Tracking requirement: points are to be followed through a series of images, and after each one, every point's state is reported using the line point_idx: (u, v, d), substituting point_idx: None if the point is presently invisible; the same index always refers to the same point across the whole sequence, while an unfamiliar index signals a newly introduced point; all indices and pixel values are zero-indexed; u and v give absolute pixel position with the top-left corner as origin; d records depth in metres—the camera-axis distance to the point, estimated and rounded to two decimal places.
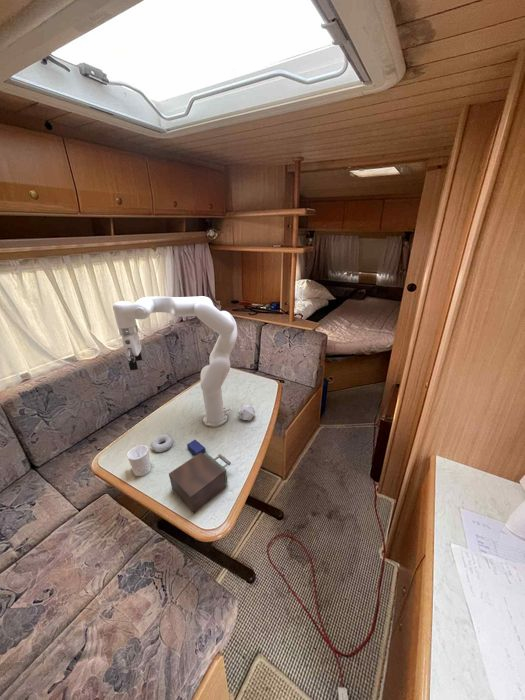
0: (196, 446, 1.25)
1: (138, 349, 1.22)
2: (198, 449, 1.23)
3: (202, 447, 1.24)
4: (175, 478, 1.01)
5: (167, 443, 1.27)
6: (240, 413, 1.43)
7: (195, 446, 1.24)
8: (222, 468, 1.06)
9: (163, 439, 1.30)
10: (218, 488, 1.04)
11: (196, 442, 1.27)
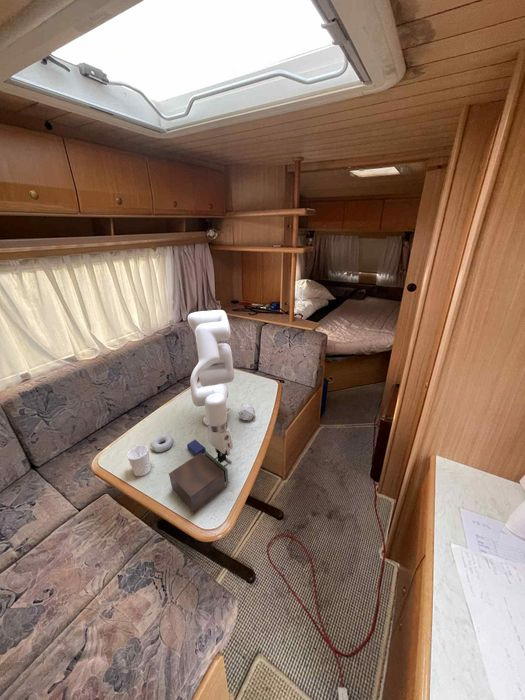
0: (196, 446, 1.25)
1: None
2: (198, 449, 1.23)
3: (202, 447, 1.24)
4: (175, 478, 1.01)
5: (167, 443, 1.27)
6: (240, 413, 1.43)
7: (195, 446, 1.24)
8: (223, 467, 1.07)
9: (163, 439, 1.30)
10: (218, 488, 1.04)
11: (196, 442, 1.27)
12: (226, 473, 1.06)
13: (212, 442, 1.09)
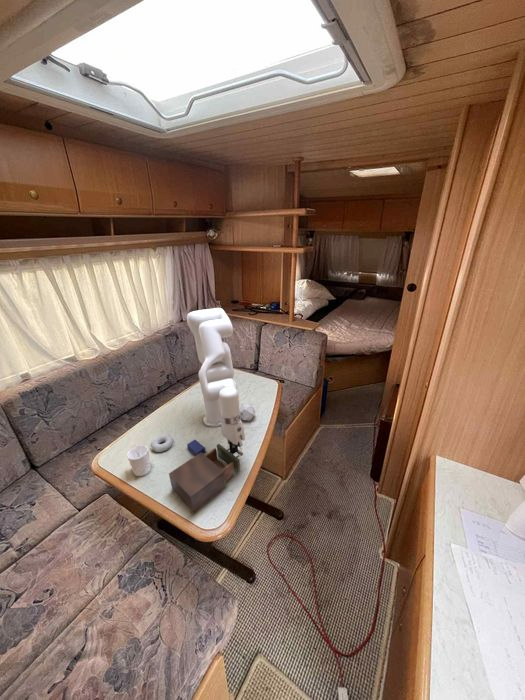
0: (196, 446, 1.25)
1: None
2: (198, 449, 1.23)
3: (202, 447, 1.24)
4: (175, 478, 1.01)
5: (167, 443, 1.27)
6: (240, 413, 1.43)
7: (195, 446, 1.24)
8: (235, 458, 1.11)
9: (163, 439, 1.30)
10: (218, 488, 1.04)
11: (196, 442, 1.27)
12: (238, 463, 1.11)
13: (225, 434, 1.13)
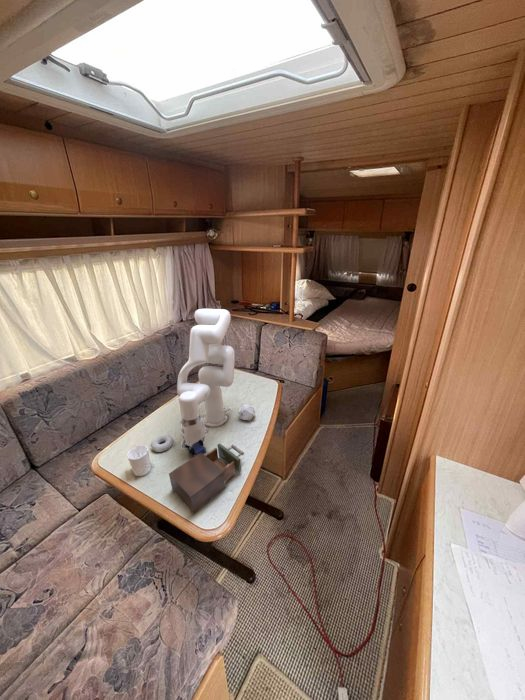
0: (196, 446, 1.25)
1: (194, 439, 1.19)
2: (198, 449, 1.23)
3: (202, 447, 1.24)
4: (175, 478, 1.01)
5: (167, 443, 1.27)
6: (240, 413, 1.43)
7: (195, 446, 1.24)
8: (236, 457, 1.11)
9: (163, 439, 1.30)
10: (218, 488, 1.04)
11: (196, 442, 1.27)
12: (239, 463, 1.11)
13: None
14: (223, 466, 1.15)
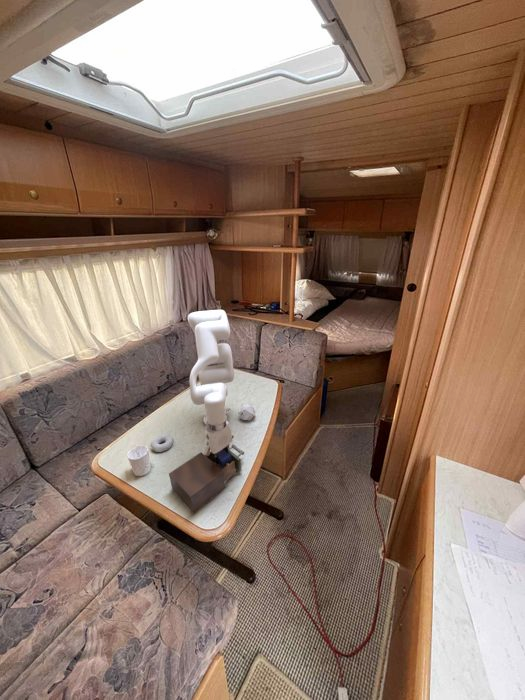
0: (221, 453, 1.11)
1: (220, 446, 1.06)
2: (224, 457, 1.09)
3: (228, 455, 1.10)
4: (175, 478, 1.01)
5: (167, 443, 1.27)
6: (240, 413, 1.43)
7: (219, 454, 1.11)
8: (236, 457, 1.11)
9: (163, 439, 1.30)
10: (218, 488, 1.04)
11: None
12: (239, 463, 1.11)
13: None
14: None
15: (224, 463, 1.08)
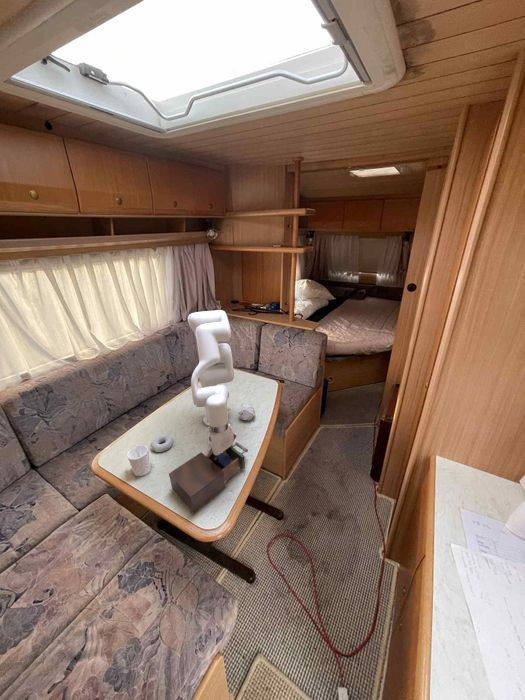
0: (225, 460, 1.14)
1: (222, 448, 1.07)
2: (227, 464, 1.12)
3: (231, 461, 1.13)
4: (175, 478, 1.01)
5: (167, 443, 1.27)
6: (240, 413, 1.43)
7: (223, 460, 1.13)
8: (240, 454, 1.13)
9: (163, 439, 1.30)
10: (218, 488, 1.04)
11: (224, 456, 1.16)
12: (243, 460, 1.12)
13: None
14: None
15: None
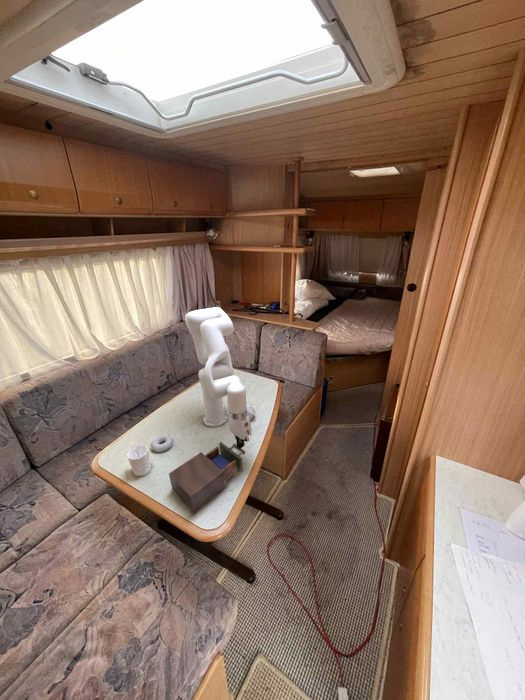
0: (222, 462, 1.13)
1: None
2: (225, 466, 1.11)
3: (229, 463, 1.12)
4: (175, 478, 1.01)
5: (167, 443, 1.27)
6: None
7: (221, 462, 1.13)
8: (238, 456, 1.12)
9: (163, 439, 1.30)
10: (218, 488, 1.04)
11: (221, 457, 1.15)
12: (241, 462, 1.11)
13: (232, 429, 1.15)
14: None
15: None
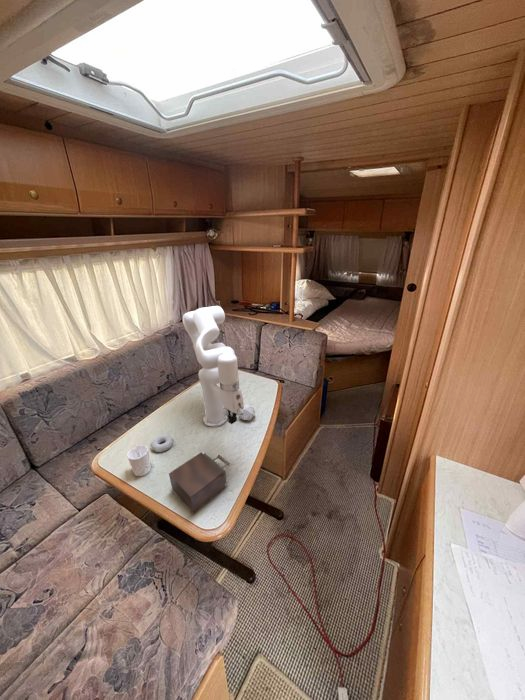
0: None
1: None
2: None
3: None
4: (175, 478, 1.01)
5: (167, 443, 1.27)
6: None
7: None
8: (221, 469, 1.06)
9: (163, 439, 1.30)
10: (218, 488, 1.04)
11: None
12: (224, 474, 1.06)
13: (223, 403, 1.11)
14: None
15: None
